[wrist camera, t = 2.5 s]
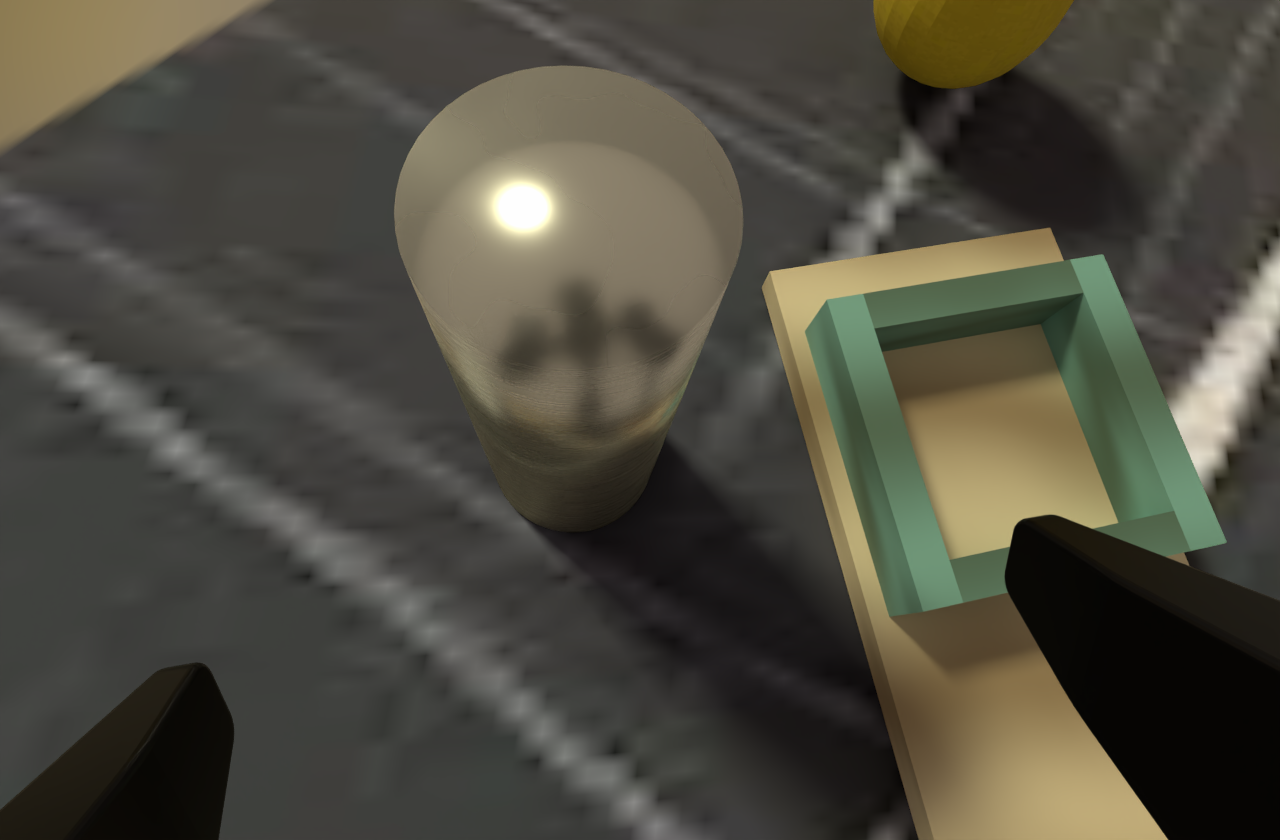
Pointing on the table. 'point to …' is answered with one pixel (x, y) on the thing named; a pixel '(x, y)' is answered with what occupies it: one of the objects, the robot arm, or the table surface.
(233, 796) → the table surface
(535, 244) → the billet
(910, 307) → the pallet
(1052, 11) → the lemon
